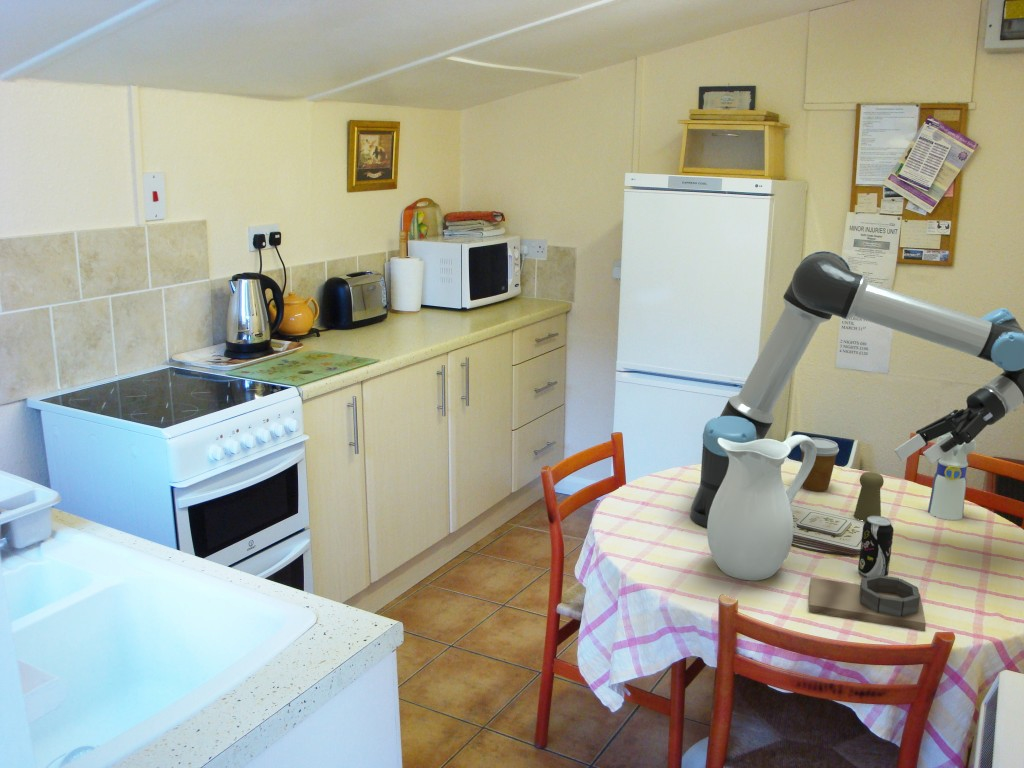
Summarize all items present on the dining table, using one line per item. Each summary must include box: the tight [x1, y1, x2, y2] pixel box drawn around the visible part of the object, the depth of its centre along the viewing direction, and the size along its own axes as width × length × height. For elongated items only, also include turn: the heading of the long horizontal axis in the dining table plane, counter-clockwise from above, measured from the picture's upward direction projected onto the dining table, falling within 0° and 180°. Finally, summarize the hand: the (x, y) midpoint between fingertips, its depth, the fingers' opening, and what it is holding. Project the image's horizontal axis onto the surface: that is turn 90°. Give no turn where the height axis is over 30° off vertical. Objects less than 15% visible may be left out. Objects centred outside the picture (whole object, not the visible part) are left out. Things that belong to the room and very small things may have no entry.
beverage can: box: [857, 515, 895, 578], centre depth 185 cm, size 6×6×12 cm
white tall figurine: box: [927, 419, 977, 521], centre depth 215 cm, size 8×9×25 cm
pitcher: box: [706, 434, 817, 581], centre depth 186 cm, size 24×17×28 cm
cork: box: [853, 471, 885, 522], centre depth 214 cm, size 6×6×11 cm
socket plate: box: [808, 575, 927, 631], centre depth 173 cm, size 20×12×4 cm, turn 71°
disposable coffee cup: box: [799, 437, 840, 492], centre depth 234 cm, size 10×10×12 cm
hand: (911, 456), depth 194 cm, fingers open, 13 cm apart
